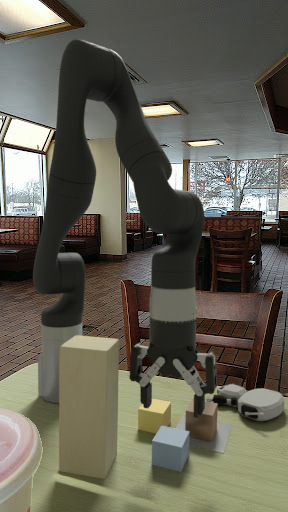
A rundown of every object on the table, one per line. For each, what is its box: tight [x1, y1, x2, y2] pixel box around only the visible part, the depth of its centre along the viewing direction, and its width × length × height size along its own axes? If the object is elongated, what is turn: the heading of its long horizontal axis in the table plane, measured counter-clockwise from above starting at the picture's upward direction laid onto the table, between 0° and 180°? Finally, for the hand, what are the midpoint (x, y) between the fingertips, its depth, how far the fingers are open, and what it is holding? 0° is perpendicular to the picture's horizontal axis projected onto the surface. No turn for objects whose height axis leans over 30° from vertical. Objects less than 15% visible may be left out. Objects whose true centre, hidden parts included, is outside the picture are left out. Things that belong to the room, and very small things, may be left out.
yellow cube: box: [137, 398, 172, 435], centre depth 73 cm, size 5×5×5 cm
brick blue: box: [151, 426, 190, 473], centre depth 63 cm, size 5×5×5 cm
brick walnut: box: [185, 398, 219, 442], centre depth 71 cm, size 5×5×5 cm
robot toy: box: [205, 383, 288, 422], centre depth 82 cm, size 12×4×15 cm
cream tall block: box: [58, 335, 120, 479], centre depth 62 cm, size 8×7×21 cm
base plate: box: [175, 414, 233, 454], centre depth 71 cm, size 10×10×1 cm
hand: (171, 410), depth 62 cm, fingers open, 8 cm apart
